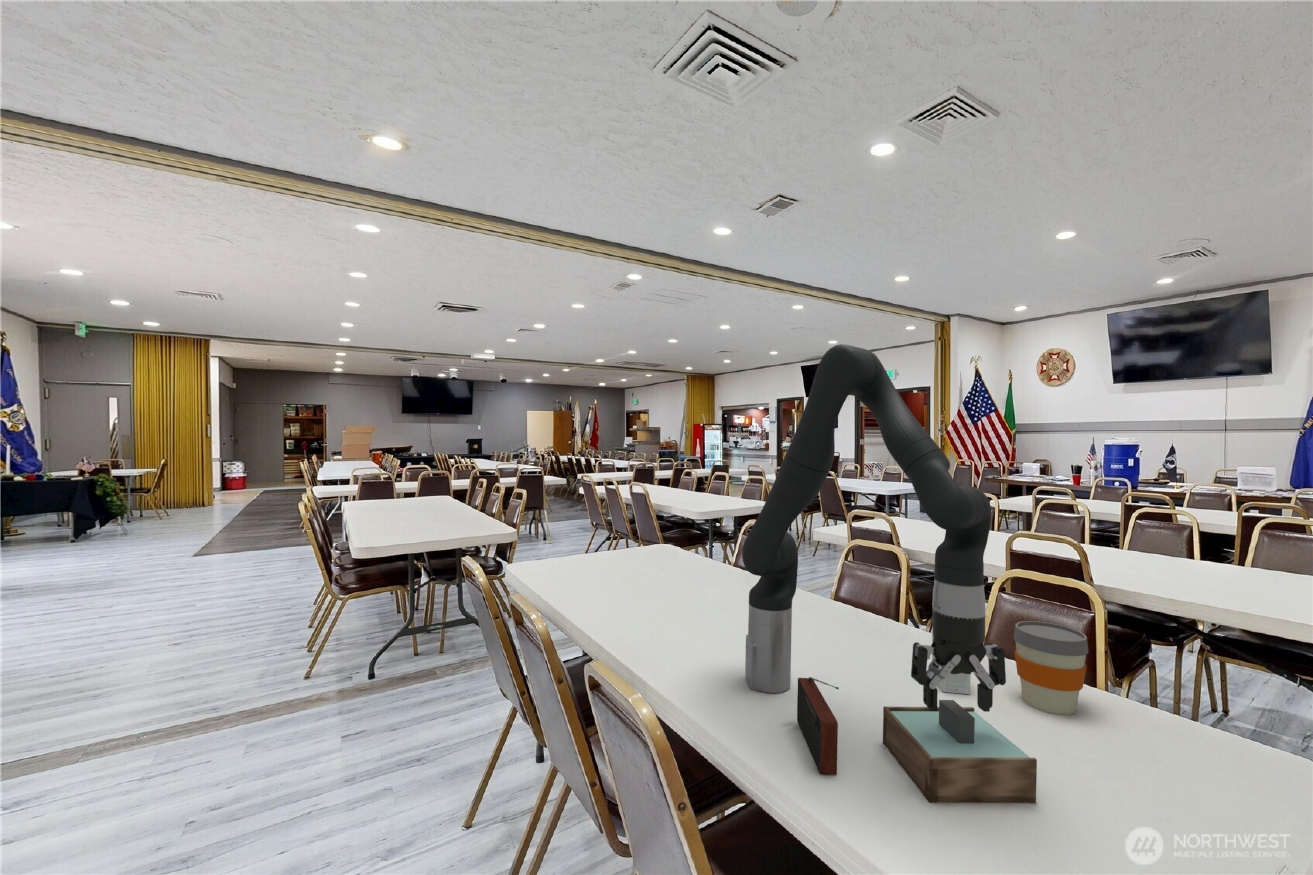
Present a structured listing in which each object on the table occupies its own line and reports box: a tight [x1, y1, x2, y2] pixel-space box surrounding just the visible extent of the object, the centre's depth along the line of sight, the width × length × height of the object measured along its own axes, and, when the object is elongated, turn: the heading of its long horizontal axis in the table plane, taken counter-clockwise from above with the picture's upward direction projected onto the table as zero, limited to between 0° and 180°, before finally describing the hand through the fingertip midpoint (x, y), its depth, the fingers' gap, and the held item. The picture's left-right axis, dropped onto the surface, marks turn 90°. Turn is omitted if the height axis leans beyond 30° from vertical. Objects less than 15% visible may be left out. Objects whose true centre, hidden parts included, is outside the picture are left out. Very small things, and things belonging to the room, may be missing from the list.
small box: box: [931, 632, 971, 695], centre depth 122 cm, size 8×6×10 cm
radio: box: [796, 676, 839, 776], centre depth 95 cm, size 19×3×15 cm, turn 178°
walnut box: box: [882, 706, 1038, 804], centre depth 90 cm, size 16×16×6 cm
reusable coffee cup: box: [1013, 620, 1089, 716], centre depth 114 cm, size 12×13×15 cm
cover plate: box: [891, 699, 1031, 758], centre depth 90 cm, size 15×14×5 cm
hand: (957, 709), depth 90 cm, fingers open, 8 cm apart
